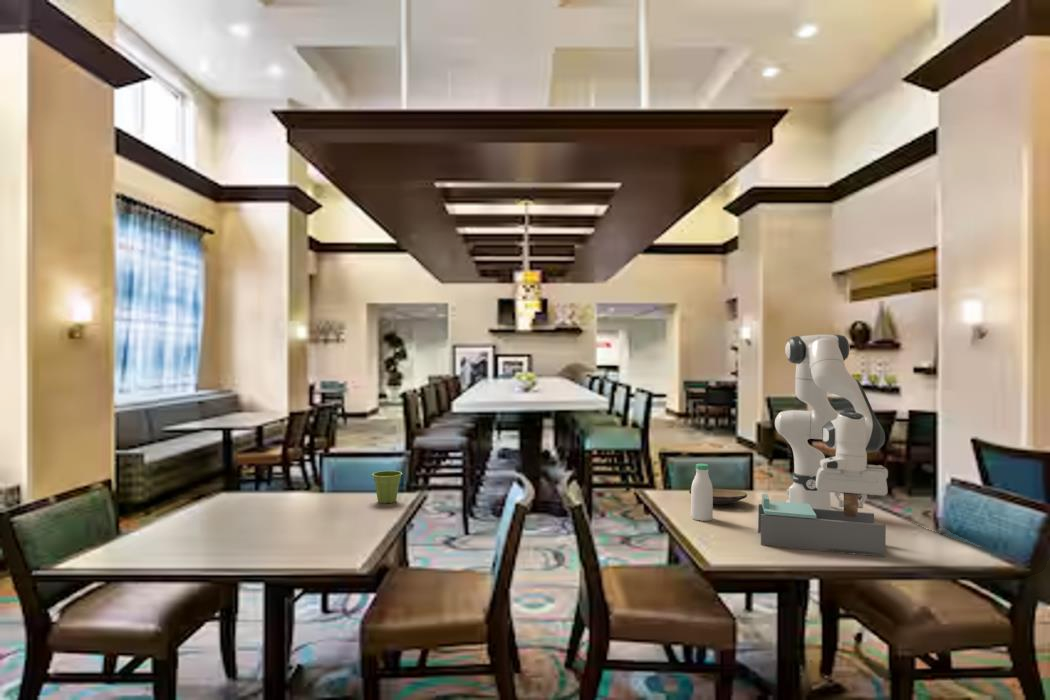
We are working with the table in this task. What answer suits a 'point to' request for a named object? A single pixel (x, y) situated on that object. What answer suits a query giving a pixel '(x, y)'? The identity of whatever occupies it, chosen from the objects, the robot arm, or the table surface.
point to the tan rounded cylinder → (851, 504)
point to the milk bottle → (702, 494)
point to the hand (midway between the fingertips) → (850, 507)
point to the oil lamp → (726, 496)
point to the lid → (787, 508)
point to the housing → (824, 532)
